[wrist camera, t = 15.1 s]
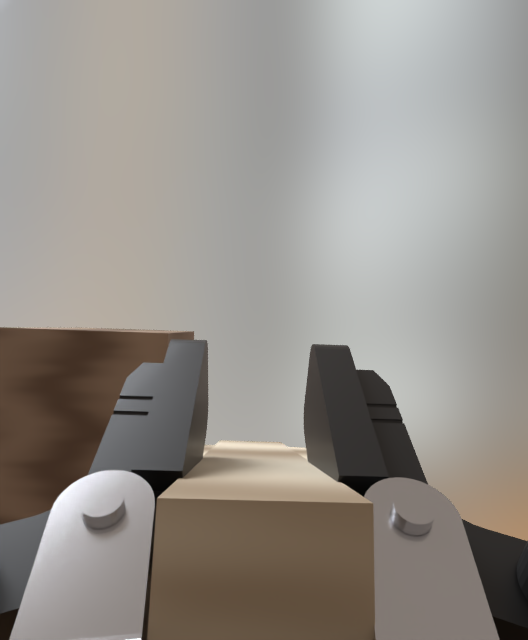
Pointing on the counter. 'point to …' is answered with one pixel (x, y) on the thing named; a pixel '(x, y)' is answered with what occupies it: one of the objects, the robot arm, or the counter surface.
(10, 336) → the walnut step stand
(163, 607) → the l-shaped block
